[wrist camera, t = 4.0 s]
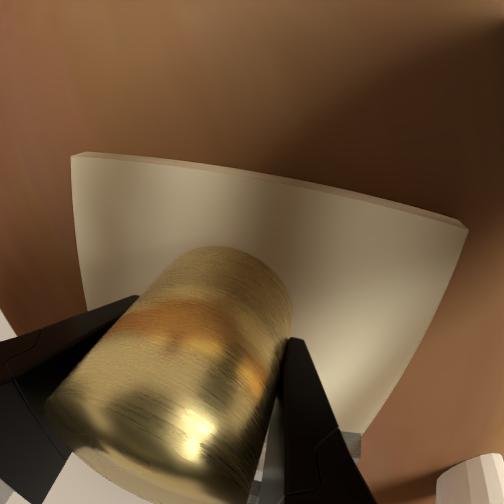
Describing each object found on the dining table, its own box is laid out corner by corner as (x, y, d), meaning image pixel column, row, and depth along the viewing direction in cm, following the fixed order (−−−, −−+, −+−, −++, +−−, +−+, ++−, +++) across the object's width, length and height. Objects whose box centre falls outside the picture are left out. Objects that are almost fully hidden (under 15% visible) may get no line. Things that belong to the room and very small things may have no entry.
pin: (307, 264, 9) (263, 468, 3) (279, 372, 11) (235, 529, 5) (161, 232, 9) (14, 359, 4) (164, 340, 11) (79, 466, 6)
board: (458, 219, 9) (468, 229, 8) (306, 493, 19) (304, 503, 18) (87, 151, 11) (70, 155, 10) (136, 443, 21) (130, 452, 20)
